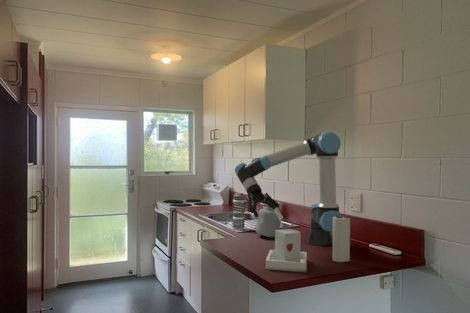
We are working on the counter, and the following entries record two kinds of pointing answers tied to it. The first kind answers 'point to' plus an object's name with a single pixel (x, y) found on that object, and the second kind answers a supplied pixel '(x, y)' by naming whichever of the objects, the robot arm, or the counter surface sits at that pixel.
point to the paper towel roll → (341, 239)
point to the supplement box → (287, 245)
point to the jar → (268, 222)
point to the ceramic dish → (286, 263)
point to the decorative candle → (238, 211)
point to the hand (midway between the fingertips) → (271, 220)
